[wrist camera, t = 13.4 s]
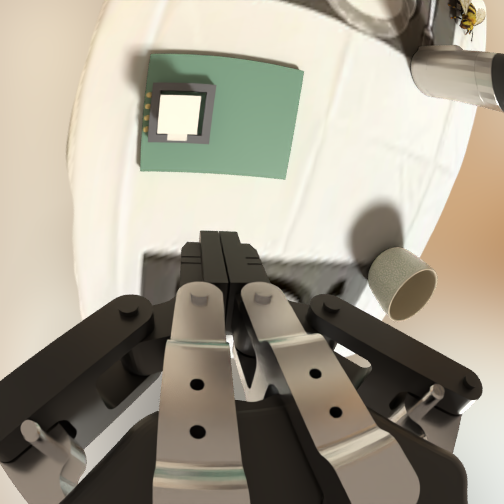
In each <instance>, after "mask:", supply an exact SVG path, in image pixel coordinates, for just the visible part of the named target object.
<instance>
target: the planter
mask: <svg viewBox="0 0 504 504" xmlns="http://www.w3.org/2000/svg"><path fill="white" fill-rule="evenodd" d="M368 283H369V287H370V289H371V291H372V293H373V294H374V296H375V298H376V299H377V301H378V302H379V304H380V306H381V307H382V309H383V310H384V312H385V313H386V314H387V316H388V317H389V318H390V319H391V320H392V321H395V322H400V321H404V320H407V319H409V318H411V317H412V316H414V315H415V314H416V313H418V312H419V311H420V310H421V309H422V308H423V307H424V306H425V305H426V304H427V302H428V301H429V299H430V298H431V297H432V295H433V293H434V291H435V288H436V285H437V273H436V272H435V270H434V269H433V268H431V267H430V266H429V265H428V264H427V263H425V262H424V261H423V260H421V259H420V258H419V257H417V256H416V255H414V254H413V253H411V252H410V251H408V250H406V249H404V248H400V247H394V248H390V249H387V250H385V251H384V252H382V253H381V254H380V255H379V256H378V257H377V258H376V259H375V260H374V262H373V263H372V265H371V267H370V270H369V274H368Z"/></svg>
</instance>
